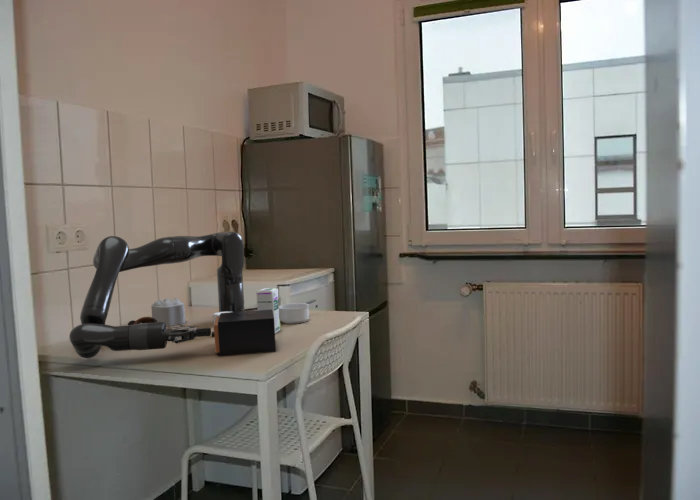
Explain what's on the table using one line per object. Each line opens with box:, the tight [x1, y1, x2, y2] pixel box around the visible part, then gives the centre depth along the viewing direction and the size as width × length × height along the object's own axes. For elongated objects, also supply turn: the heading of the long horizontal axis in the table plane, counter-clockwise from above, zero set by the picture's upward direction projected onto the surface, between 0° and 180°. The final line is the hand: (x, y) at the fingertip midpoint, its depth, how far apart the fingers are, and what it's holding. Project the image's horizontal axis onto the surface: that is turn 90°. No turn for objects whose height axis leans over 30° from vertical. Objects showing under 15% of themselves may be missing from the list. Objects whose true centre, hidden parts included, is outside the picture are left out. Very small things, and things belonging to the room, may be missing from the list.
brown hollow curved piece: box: [127, 316, 157, 325], centre depth 183 cm, size 12×10×8 cm
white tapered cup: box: [212, 311, 230, 325], centre depth 186 cm, size 7×7×7 cm
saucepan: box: [279, 299, 317, 325], centre depth 206 cm, size 12×20×6 cm, turn 150°
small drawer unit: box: [218, 309, 277, 357], centre depth 166 cm, size 16×14×10 cm
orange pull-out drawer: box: [211, 317, 220, 354], centre depth 166 cm, size 16×13×8 cm
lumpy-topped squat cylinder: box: [150, 298, 186, 328], centre depth 208 cm, size 10×13×9 cm
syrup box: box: [255, 287, 282, 335], centre depth 186 cm, size 6×6×14 cm
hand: (210, 331), depth 161 cm, fingers closed
